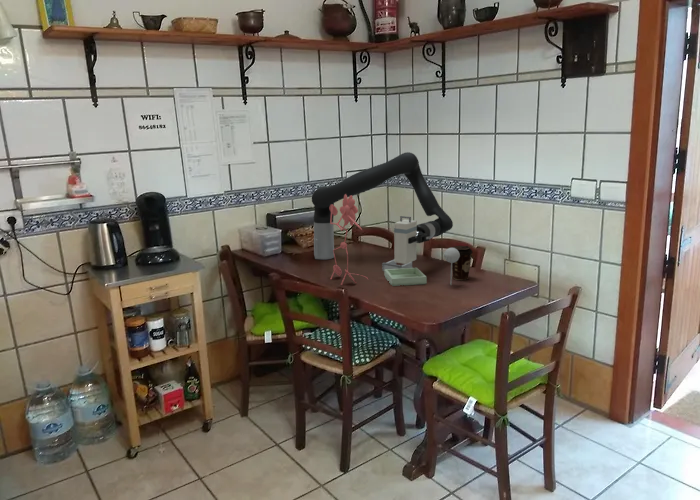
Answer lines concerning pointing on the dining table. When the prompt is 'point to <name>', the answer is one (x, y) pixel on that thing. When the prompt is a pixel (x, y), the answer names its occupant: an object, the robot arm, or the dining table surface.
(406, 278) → the tray
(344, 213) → the figurine
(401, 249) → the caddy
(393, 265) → the bay
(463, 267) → the coffee cup
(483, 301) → the dining table surface
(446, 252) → the lollipop
